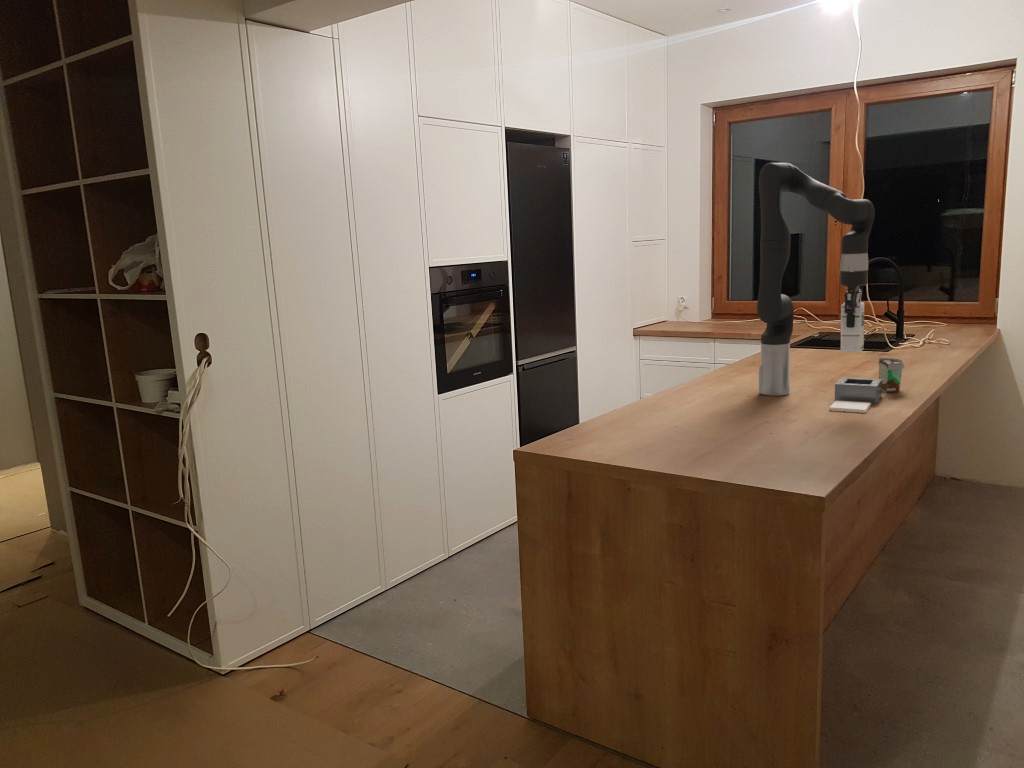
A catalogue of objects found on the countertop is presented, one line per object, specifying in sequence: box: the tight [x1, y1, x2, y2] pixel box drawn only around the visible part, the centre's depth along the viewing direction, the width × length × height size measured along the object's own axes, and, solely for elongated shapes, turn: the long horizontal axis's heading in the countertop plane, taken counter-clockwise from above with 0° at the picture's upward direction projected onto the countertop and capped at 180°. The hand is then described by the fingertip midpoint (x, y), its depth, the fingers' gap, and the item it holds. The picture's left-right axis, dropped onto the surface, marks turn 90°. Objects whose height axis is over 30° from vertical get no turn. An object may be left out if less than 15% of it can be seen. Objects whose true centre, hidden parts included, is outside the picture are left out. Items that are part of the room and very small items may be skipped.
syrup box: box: [840, 301, 865, 353], centre depth 227 cm, size 6×6×14 cm
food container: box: [878, 357, 905, 394], centre depth 252 cm, size 12×6×10 cm, turn 168°
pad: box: [829, 400, 872, 414], centre depth 232 cm, size 10×10×1 cm
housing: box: [834, 376, 883, 405], centre depth 243 cm, size 12×12×6 cm
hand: (852, 325), depth 227 cm, fingers closed on syrup box, 5 cm apart
